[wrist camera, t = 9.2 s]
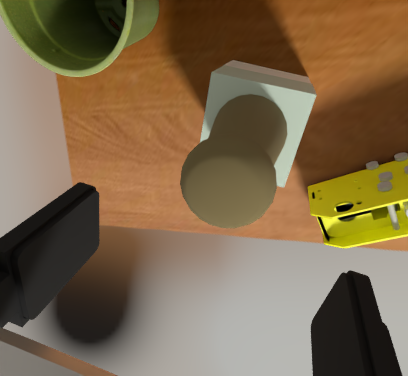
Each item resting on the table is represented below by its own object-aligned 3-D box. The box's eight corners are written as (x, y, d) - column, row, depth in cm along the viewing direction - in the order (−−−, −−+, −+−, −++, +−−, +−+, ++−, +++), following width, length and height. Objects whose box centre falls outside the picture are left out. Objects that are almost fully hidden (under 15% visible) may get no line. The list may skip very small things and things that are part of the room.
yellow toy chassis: (470, 129, 28) (530, 163, 21) (478, 179, 30) (535, 224, 23) (305, 179, 35) (309, 218, 28) (320, 217, 37) (327, 262, 30)
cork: (204, 151, 26) (153, 219, 16) (226, 82, 23) (179, 118, 13) (269, 176, 25) (255, 262, 16) (301, 110, 22) (307, 168, 13)
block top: (312, 83, 26) (316, 94, 21) (284, 164, 30) (283, 187, 25) (224, 65, 27) (211, 72, 22) (209, 145, 31) (196, 164, 26)
